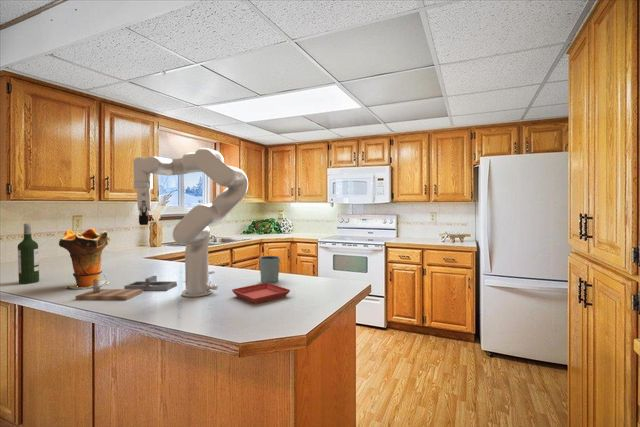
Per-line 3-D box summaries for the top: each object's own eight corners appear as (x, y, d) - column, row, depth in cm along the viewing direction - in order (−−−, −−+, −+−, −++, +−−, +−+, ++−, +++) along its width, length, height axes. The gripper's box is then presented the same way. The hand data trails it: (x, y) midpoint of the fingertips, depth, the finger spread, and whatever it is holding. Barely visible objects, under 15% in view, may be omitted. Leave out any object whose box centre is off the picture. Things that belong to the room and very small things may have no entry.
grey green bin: (258, 279, 172) (258, 256, 171) (278, 278, 175) (277, 255, 174) (261, 284, 162) (260, 259, 162) (281, 282, 165) (281, 258, 165)
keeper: (142, 292, 148) (142, 275, 148) (126, 299, 137) (126, 281, 137) (95, 292, 149) (94, 275, 149) (75, 299, 138) (75, 281, 138)
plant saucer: (291, 297, 140) (291, 289, 140) (253, 306, 128) (253, 298, 127) (266, 289, 153) (266, 282, 153) (230, 297, 141) (230, 289, 141)
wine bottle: (41, 281, 172) (39, 223, 171) (22, 284, 165) (19, 224, 164) (35, 279, 176) (33, 222, 175) (16, 283, 169) (14, 223, 168)
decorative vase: (76, 292, 148) (72, 229, 148) (52, 289, 160) (49, 230, 160) (123, 282, 166) (120, 226, 166) (99, 280, 178) (96, 227, 178)
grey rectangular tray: (176, 285, 160) (176, 275, 160) (167, 290, 151) (166, 279, 151) (136, 285, 162) (136, 275, 161) (124, 290, 153) (124, 279, 152)
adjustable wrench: (189, 283, 167) (189, 279, 167) (178, 282, 169) (178, 279, 169) (216, 272, 192) (216, 269, 192) (206, 272, 193) (206, 269, 193)
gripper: (154, 185, 143) (154, 225, 144) (151, 186, 158) (151, 222, 159) (134, 184, 139) (134, 225, 140) (133, 186, 154) (133, 223, 155)
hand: (143, 224), depth 149 cm, fingers open, 9 cm apart
